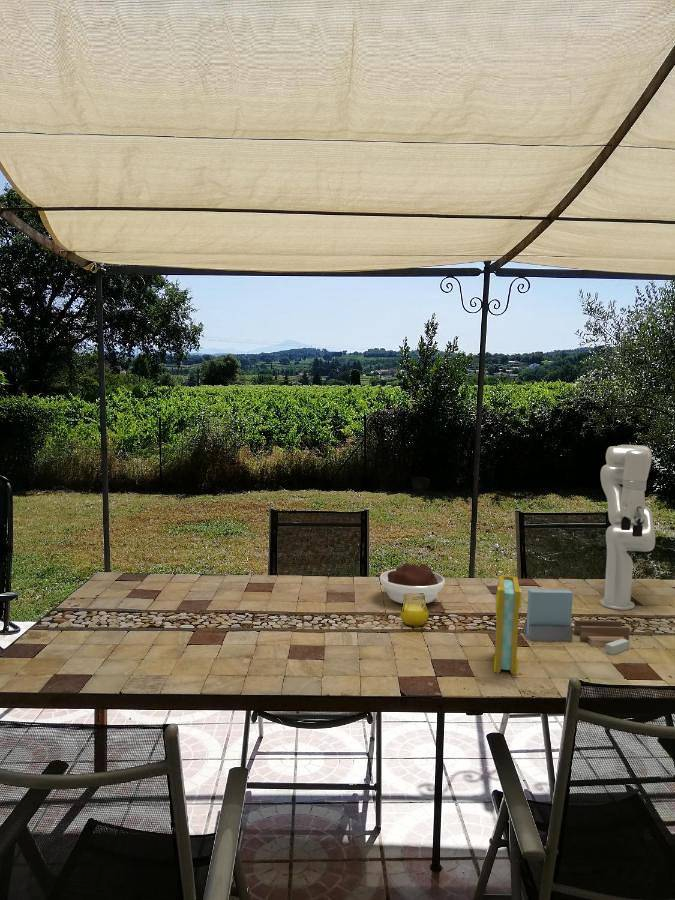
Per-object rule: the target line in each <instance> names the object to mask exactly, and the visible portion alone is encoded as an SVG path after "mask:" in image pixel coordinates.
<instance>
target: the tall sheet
mask: <svg viewBox="0 0 675 900" xmlns="http://www.w3.org/2000/svg"><path fill="white" fill-rule="evenodd" d="M573 596H574V595H573V592H572V591H571V590H570V589H567V590H565V589H528V590H527V611H526V619H527V626H526V634H525V636H526V638H527V639H528V638H529V634H530V625H548V626H572V612H573V610H572V608H573Z"/></svg>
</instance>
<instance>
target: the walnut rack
mask: <svg viewBox="0 0 675 900" xmlns="http://www.w3.org/2000/svg"><path fill="white" fill-rule="evenodd" d="M630 630H631V629H630V627H629V626H623V621H622V620H599V619H598V620H592V619H590V620H589V619H588V620H587V619H574V625H573V635H574V636H579V642H581V643H587V636H614V637H624V638H625V639H626V640H628V641H629V642H630Z"/></svg>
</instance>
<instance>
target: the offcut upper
mask: <svg viewBox="0 0 675 900" xmlns="http://www.w3.org/2000/svg"><path fill="white" fill-rule="evenodd" d="M604 648H605V650H604V651H605V653H606V654H608V655H611V656H613V655H616V654H619V653H621V652H624V651H628V650H629V648H630V640H629V641H628V640H625V639H619V640H616V641H613V642H610V643H607V644H606V647H604Z"/></svg>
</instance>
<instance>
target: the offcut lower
mask: <svg viewBox="0 0 675 900" xmlns="http://www.w3.org/2000/svg"><path fill="white" fill-rule="evenodd" d="M619 639H625V638H624V637H614V636H587V642H586V643H587V644H588V645H589V646H590V647H591V648H593V647H594V646H596V647H598V648H601V647H603V648H606V644H607V643H610V642H613V641H616V640H619ZM625 640H626V639H625ZM594 648H595V647H594Z"/></svg>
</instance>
